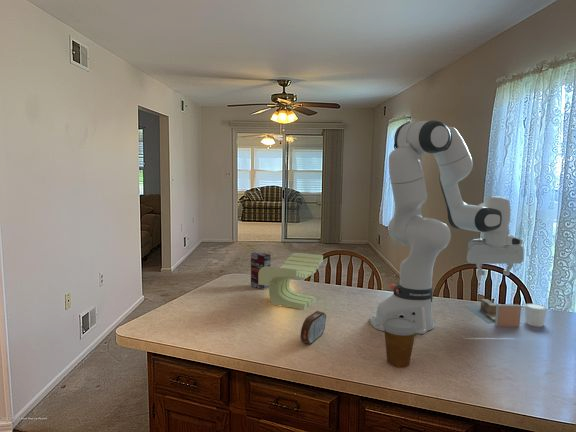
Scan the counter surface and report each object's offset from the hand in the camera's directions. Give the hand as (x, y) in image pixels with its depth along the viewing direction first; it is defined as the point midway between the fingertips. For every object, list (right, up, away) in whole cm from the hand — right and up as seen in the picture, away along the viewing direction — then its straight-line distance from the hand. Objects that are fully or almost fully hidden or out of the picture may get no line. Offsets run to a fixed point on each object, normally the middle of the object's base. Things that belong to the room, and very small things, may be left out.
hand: (493, 274), depth 165 cm
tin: (-70, -18, -24) cm, 76 cm away
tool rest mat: (-1, -16, +1) cm, 16 cm away
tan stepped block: (0, -15, 0) cm, 15 cm away
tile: (0, -13, -11) cm, 17 cm away
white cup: (+11, -17, -8) cm, 22 cm away
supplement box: (-91, -11, +36) cm, 99 cm away
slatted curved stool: (-77, -14, +15) cm, 79 cm away
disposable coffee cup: (-47, -20, -40) cm, 65 cm away
